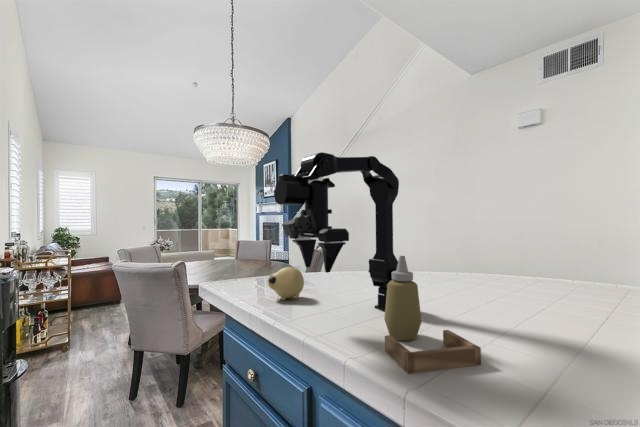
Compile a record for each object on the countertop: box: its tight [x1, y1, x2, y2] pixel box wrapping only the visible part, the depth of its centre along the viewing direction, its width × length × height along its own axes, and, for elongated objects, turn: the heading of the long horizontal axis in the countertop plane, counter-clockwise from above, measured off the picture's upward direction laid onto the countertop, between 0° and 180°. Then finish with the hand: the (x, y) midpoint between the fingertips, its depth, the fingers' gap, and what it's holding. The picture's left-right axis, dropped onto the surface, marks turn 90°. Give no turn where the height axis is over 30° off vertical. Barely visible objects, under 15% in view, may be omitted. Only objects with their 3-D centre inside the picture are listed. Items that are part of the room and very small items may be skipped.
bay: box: [384, 329, 482, 374], centre depth 57 cm, size 9×14×3 cm, turn 103°
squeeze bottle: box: [383, 255, 423, 342], centre depth 68 cm, size 8×8×18 cm
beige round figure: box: [267, 266, 305, 301], centre depth 101 cm, size 10×12×11 cm
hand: (317, 269), depth 73 cm, fingers open, 9 cm apart
